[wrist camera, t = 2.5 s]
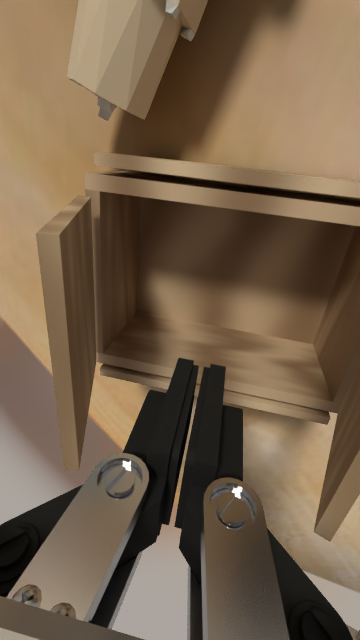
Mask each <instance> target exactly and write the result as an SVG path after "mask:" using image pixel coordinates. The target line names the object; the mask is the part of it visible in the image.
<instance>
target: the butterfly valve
mask: <svg viewBox="0 0 360 640" xmlns="http://www.w3.org/2000/svg"><path fill="white" fill-rule="evenodd" d="M207 2H208V0H79V2H78V8H77V15H76V21H75V28H74V34H73V41H72V47H71V54H70V60H69V67H68V73H67V78H68V79H70V80H72V81H74V82H76V83H77V84H79V85H81V86H83V87H84V88H86V89H88V90H90V91H91V92H92V93H94V94H95V95H96V96H98V106H100V111H99V115H98V116H99V117H101V118H103V119H105V120H107V121H108V120H109V117H110V115H111V113H112V112H113V111H114V109H115V108H116V107H119V108H121V109H123V110H125V111H127V112H129V113H131V114H133V115H135V116H137V117H139V118H141V119H144V120H145V118H146V116H147V113H148V111H149V108H150V106H151V103H152V101H153V98H154V96H155V93H156V91H157V88H158V86H159V83H160V81H161V78H162V76H163V73H164V71H165V68H166V66H167V63H168V61H169V58H170V56H171V53H172V51H173V48H174V46H175V43H176V41H177V38H178V36H179V33H180V31H181V34H180V35H181V36H182V37H183V38H184V39H186V40H188V41H190V42H191V41H192V39H193V37H194V36H195V34H196V31H197V28H198V26H199V23H200V21H201V18H202V15H203V13H204V10H205V7H206V5H207Z"/></svg>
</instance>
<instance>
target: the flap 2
mask: <svg viewBox="0 0 360 640" xmlns="http://www.w3.org/2000/svg"><path fill="white" fill-rule="evenodd" d="M359 494H360V366H359V368H358V370H357V372H356V374H355V376H354V379H353V381H352V383H351V385H350V387H349V389H348V391H347V394H346V396H345V398H344V400H343V402H342V404H341V406H340V409H339V411H338V415H337V420H336V425H335V430H334V435H333V440H332V445H331V450H330V455H329V459H328V464H327V469H326V474H325V479H324V484H323V489H322V494H321V499H320V504H319V508H318V513H317V518H316V523H315V528H314V532H315V533H316V534H318V535H320V536H321V537H323V538H325V539H326V540H328V541H331V539H332V538H333V536H334V535H335V533H336V531H337V530H338V528H339V526H340V525H341V523H342V522H343V520H344V518H345V517H346V515H347V514H348V512H349V510H350V509H351V507H352V505H353V504H354V502H355V501H356V499H357V497H358V496H359Z"/></svg>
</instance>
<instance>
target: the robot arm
mask: <svg viewBox="0 0 360 640" xmlns="http://www.w3.org/2000/svg"><path fill="white" fill-rule="evenodd" d="M193 364H194V360H189V359H184V358H178V361H177V364H176V367H175V370H174V373H173V376H172V379H171V382H170V385H169V387H168V390H167V393H163V392H158V391H153V390H150V391H149V392H148V394H147V396H146V399H145V401H144V403H143V406H142V408H141V411H140V413H139V415H138V418H137V420H136V422H135V425H134V427H133V430H132V432H131V434H130V437H129V439H128V441H127V444H126V446H125V449H124V451H123V453H117V454H114V455H111V456H108V457H106V458H105V459H103V460H102V461H100V463H99V464H98V465H97V466H96V467H95V469H94V470H93V471H92V473H91V474H90V476H89V477H88V479H87V480H86V481H85V483H84V484H83V485H81V486H79V487H77V488H75V489H73V490H71V491H69V492H67V493H65V494H63V495H60V496H58V497H56V498H54V499H52V500H50V501H48V502H46V503H44V504H42V505H40V506H38V507H36V508H34V509H32V510H30V511H27V512H25V513H23V514H21V515H19V516H17V517H15V518H13V519H11V520H9V521H7V522H5V523H3V524H2V525H0V640H143V639H140V638H137V637H134V636H131V635H127V634H124V633H120V632H117V631H114V630H111V629H112V627H113V624H114V622H115V619H116V617H117V614H118V612H119V610H120V607H121V605H122V602H123V600H124V597H125V595H126V592H127V590H128V587H129V585H130V582H131V580H132V577H133V575H134V572H135V570H136V568H137V565H138V563H139V560H140V558H141V554H142V551H143V550H144V549H146V548H147V547H149V546H150V545H152V544H153V543H154V542H156V539H157V535H158V536H159V534H160V529H161V525H162V524H166V525H169V522H170V517H171V512H172V507H173V503H174V498H175V493H176V488H177V483H178V478H179V474H180V469H181V464H182V459H183V454H184V449H185V445H186V440H187V435H188V430H189V425H190V419H191V413H192V407H193V400H194V394H195V388H196V382H197V376H198V370H199V366H198V365H193ZM225 373H226V367H225V366H220V365H215V364H210V368H209V367H204V369H203V374H202V379H201V384H200V389H199V394H198V399H197V404H196V409H195V414H194V419H193V425H192V430H191V435H190V440H189V445H188V450H187V455H186V461H185V467H184V473H183V479H182V485H181V491H180V497H179V503H178V509H177V515H176V521H175V527H177V528H181V529H182V532H181V537H180V544H179V549H180V551H181V552H182V554H183V556H184V557H185V559H186V561H187V562H188V564H189V566H188V623H187V626H188V627H187V640H360V630H359V631H357V630H355V629H353V628H351V627H350V626H348V625H346V624H345V623H344V622H343V620H342V618H341V617H340V615H339V614H338V613H337V612H336V610H335V609H334V608H333V607H332V606H331V604H330V603H329V602H328V601H327V599H326V598H325V597H324V596H323V595H322V594H321V592H320V591H319V590H318V589H317V587H316V586H315V585H314V584H313V583H312V581H311V580H310V579H309V578H308V577H307V575H306V574H305V573H304V572H303V571H302V569H301V568H300V567H299V566H298V565H297V563H296V562H295V561H294V560H293V559H292V558H291V556H290V555H289V554H288V553H287V552H286V550H285V549H284V548H283V547H282V546H281V544H280V543H279V542H278V541H277V540H276V538H275V537H274V536H273V535H272V534H271V532H270V531H269V530H268V529H267V526H266V521H265V516H264V511H263V507H262V504H261V501H260V499H259V497H258V496H257V494H256V493H255V491H254V490H253V489H252V488H251V487H250V486H248V485H247V484H246V483H244V482H243V410H242V409H240V408H235V407H230V406H225V405H223V396H224V385H225Z"/></svg>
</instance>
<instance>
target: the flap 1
mask: <svg viewBox="0 0 360 640" xmlns="http://www.w3.org/2000/svg"><path fill="white" fill-rule="evenodd" d="M36 237H37V246H38V254H39V262H40V271H41V279H42V287H43V296H44V304H45V312H46V321H47V329H48V337H49V346H50V354H51V362H52V371H53V379H54V387H55V395H56V404H57V412H58V420H59V429H60V438H61V446H62V454H63V463H64V470H79V467H80V461H81V454H82V447H83V442H84V435H85V428H86V423H87V416H88V410H89V404H90V397H91V391H92V385H93V378H94V372H95V366H96V331H95V302H94V273H93V243H92V214H91V197H86V196H78V197H77V198H75V199H74V200H73V201H72V202H71V203H70V204H69V205H67V206H66V207H65V208H64V209H63V210H62V211H61V212H60V213H58V214H57V215H56V216H55V217H54V218H53V219H52V220H51V221H49V222H48V223H47V224H46V225H45V226H44V227H43V228H41V229H40V230H39V231H38V232H37V233H36Z"/></svg>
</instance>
